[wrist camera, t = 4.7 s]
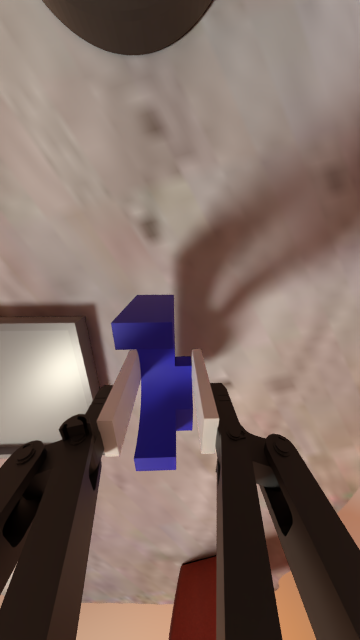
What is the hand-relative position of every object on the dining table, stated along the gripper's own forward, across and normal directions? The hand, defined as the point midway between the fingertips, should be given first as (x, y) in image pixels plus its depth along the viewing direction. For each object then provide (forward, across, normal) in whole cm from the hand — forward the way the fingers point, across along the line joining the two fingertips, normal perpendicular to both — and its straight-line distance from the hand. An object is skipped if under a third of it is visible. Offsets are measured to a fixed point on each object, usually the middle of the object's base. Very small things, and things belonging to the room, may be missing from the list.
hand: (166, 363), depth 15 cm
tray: (+5, -19, -8) cm, 21 cm away
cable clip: (+1, 0, 0) cm, 2 cm away
